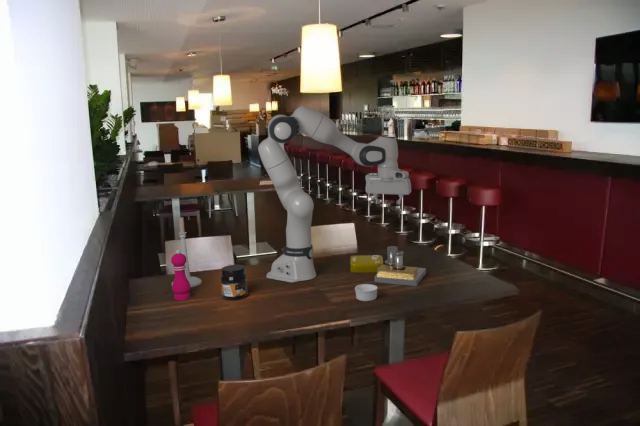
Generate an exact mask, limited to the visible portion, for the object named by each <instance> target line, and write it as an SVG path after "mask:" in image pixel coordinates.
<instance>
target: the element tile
mask: <svg viewBox="0 0 640 426" xmlns="http://www.w3.org/2000/svg"><path fill="white" fill-rule="evenodd" d="M381 265H384V259H383V255H381V254H376V255H375V254H373V255H371V254H370V255H369V254H367V255H364V254H363V255H351V256H350V263H349V267H350V269H349V270H350V272H351V273H377V268H378V267H379V266H381Z"/></svg>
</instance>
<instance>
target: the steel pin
mask: <svg viewBox="0 0 640 426" xmlns="http://www.w3.org/2000/svg"><path fill="white" fill-rule="evenodd" d="M404 253H405V252H404V251H402V250H397V251H395V252H394V254H395V270H403V266H404V264H403V263H404V259H403V258H404V256H403V255H404Z"/></svg>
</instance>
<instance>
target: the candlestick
mask: <svg viewBox="0 0 640 426" xmlns="http://www.w3.org/2000/svg"><path fill="white" fill-rule="evenodd" d="M178 226H179V232H178V233H177V234H178V235H179V238H180V253H181V254H184V255H185V256H186V260H187V261H186V263H185V265H186V269H185V275H186V278H187V279H188V281H189V283H190V288H195V287H197V286H199V285H201V284H202V279H201V278H199V277H198V276H191V272H190V264H189V256H188V248H187V245H186V244H187V243H186V236H187V235H186V234H187V231H185V221H184V217H182V216H180V217H178ZM172 284H173V281H172V282H171V285H172Z"/></svg>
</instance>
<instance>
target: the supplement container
mask: <svg viewBox="0 0 640 426" xmlns="http://www.w3.org/2000/svg"><path fill="white" fill-rule="evenodd" d="M220 274H221V275H220V278H219V279H220V288H221V297H222V298H223V299H224V300H226V301H227V300H228V301H239V300H242V299H245V298H246V297H247V296H248V294H249V291H248V275H247V273H246V267H245V266H244V265H242V264H228V265H225V266H223V267H221V269H220Z"/></svg>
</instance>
